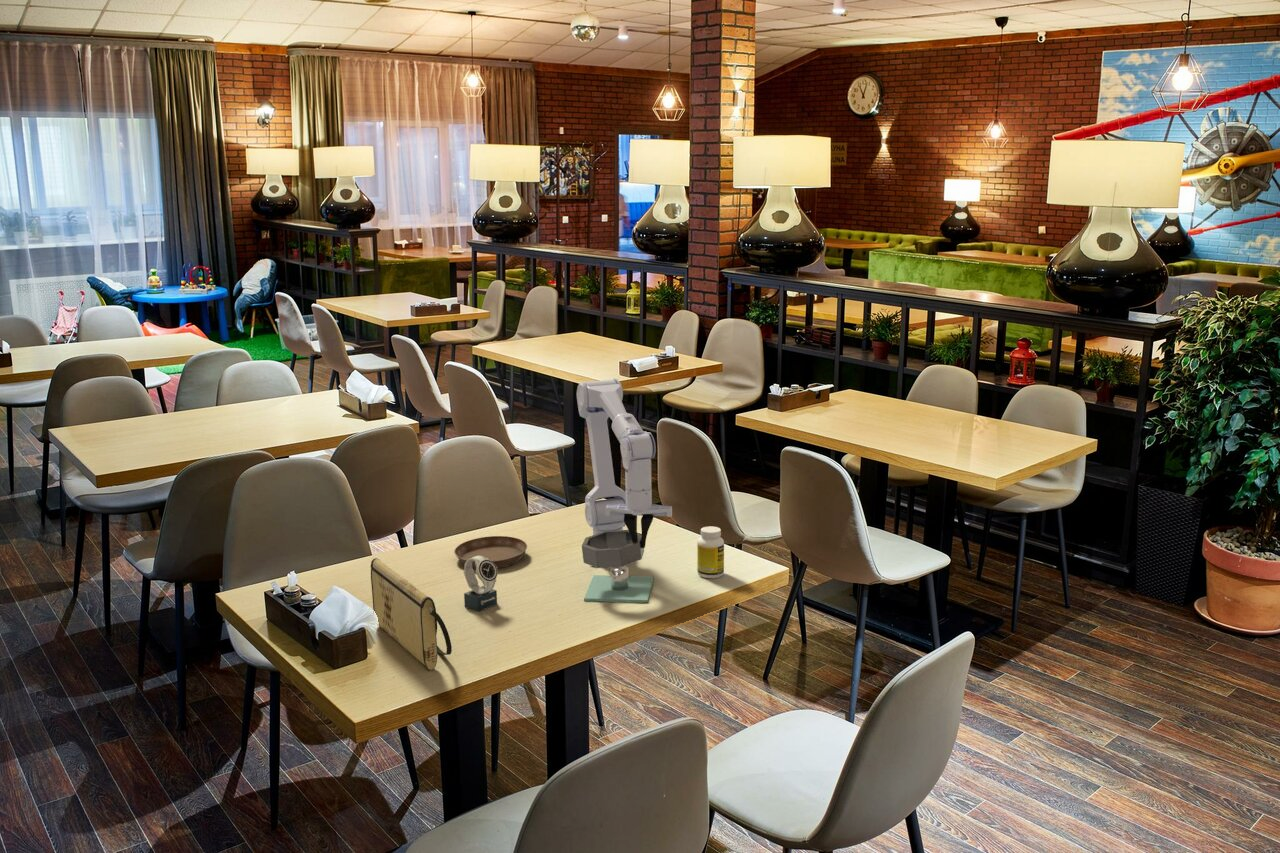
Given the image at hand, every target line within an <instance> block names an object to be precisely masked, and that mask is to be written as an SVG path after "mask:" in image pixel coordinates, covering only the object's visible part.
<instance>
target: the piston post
mask: <svg viewBox="0 0 1280 853" xmlns="http://www.w3.org/2000/svg"><path fill="white" fill-rule="evenodd" d="M609 568H610V572H609V574H610V576H611V589H613V590H617V591H622V590H626V589H628V588H629V584H628V576H629V566H628V565H625V566H622V567H609Z"/></svg>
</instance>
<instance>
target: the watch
mask: <svg viewBox="0 0 1280 853" xmlns="http://www.w3.org/2000/svg"><path fill="white" fill-rule="evenodd" d="M474 560H475V565H476V568H475V570H474V569H473V568H472V563H473V561H474ZM463 568H464V572H463V573H464V576H465V581H466V583H467V585H468V588H469V589H471V590H469V591H466V592H464V593H463V596H464V597H463V600H464V607H465V608H467V609H470V610H471V611H472V610H473V611H475V612H480V611H483V610H486V609H487V608H490V607H493V606H496V605H498V596H497V595H498V594H497V590H496V589H494V587H495V585H496V582H497V576H498V574H499V573H498V568H497V566H496V565H495V564H494V563H493V562H492V561H490V560H489V559H487V558H485V557H483V556H475V557H473V558H470V559H468V560H467V561H466V562H465V564H464V567H463ZM476 575H477V576H476ZM477 578H478V579H479V580H480V581H481V583H482V584H483V585H482V586H480V585H479V581H478V579H477ZM485 608H486V609H485Z"/></svg>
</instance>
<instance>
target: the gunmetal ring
mask: <svg viewBox="0 0 1280 853" xmlns="http://www.w3.org/2000/svg"><path fill="white" fill-rule="evenodd" d="M641 539H642V533H639V532H637V539H636V541H635V542H632V538H631V535H630V533H629V530H628V529H623V530H615V531H604V532H601V533H598V534H595V535H593V534H592V535H590V536H586V537H585V538H584V540H583V542H582V544H581V550H582V551H581V552H582V559H583V561H582V562H583V564H586V565H588V566H590V565H591V566H592V567H595V568H597V569H603V568H606V569H607V568H611V567H622V566H628V565H630V564H633V563H636V562H637V561H641V560H643V556H644V552H645V548H641ZM591 566H590V567H591Z"/></svg>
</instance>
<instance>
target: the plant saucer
mask: <svg viewBox="0 0 1280 853" xmlns="http://www.w3.org/2000/svg"><path fill="white" fill-rule="evenodd" d="M527 549H528V544H527V543H526V541H524V540H523V539H521V538H517V537H513V536H506V535H505V536H504V535H491V536H481V537H477V538H472V539H470V540H467V541H464V542H462V543H460V544H458V545H457V546H456V547H455V548H454V552H453V553H454V555H455V556H456V558H457V559H458V560H459V561H460V562H461V563H462V564H464V565H465V562H466V561H467V560H468V559H470V558H473V557H475V556H483V557H485V558H487V559H489V560H490V561H492V562H493V563H494V564H495V565H496V566H497V569H500V568H505V567H508V566H512V565H513V564H515V563H517V562H518V561H519V560H520V559H521V558H522V557H523V556H524V554H525V553H526V551H527ZM473 568H474V569H476V565H475V560H474V561H473V563H472V569H473Z"/></svg>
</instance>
